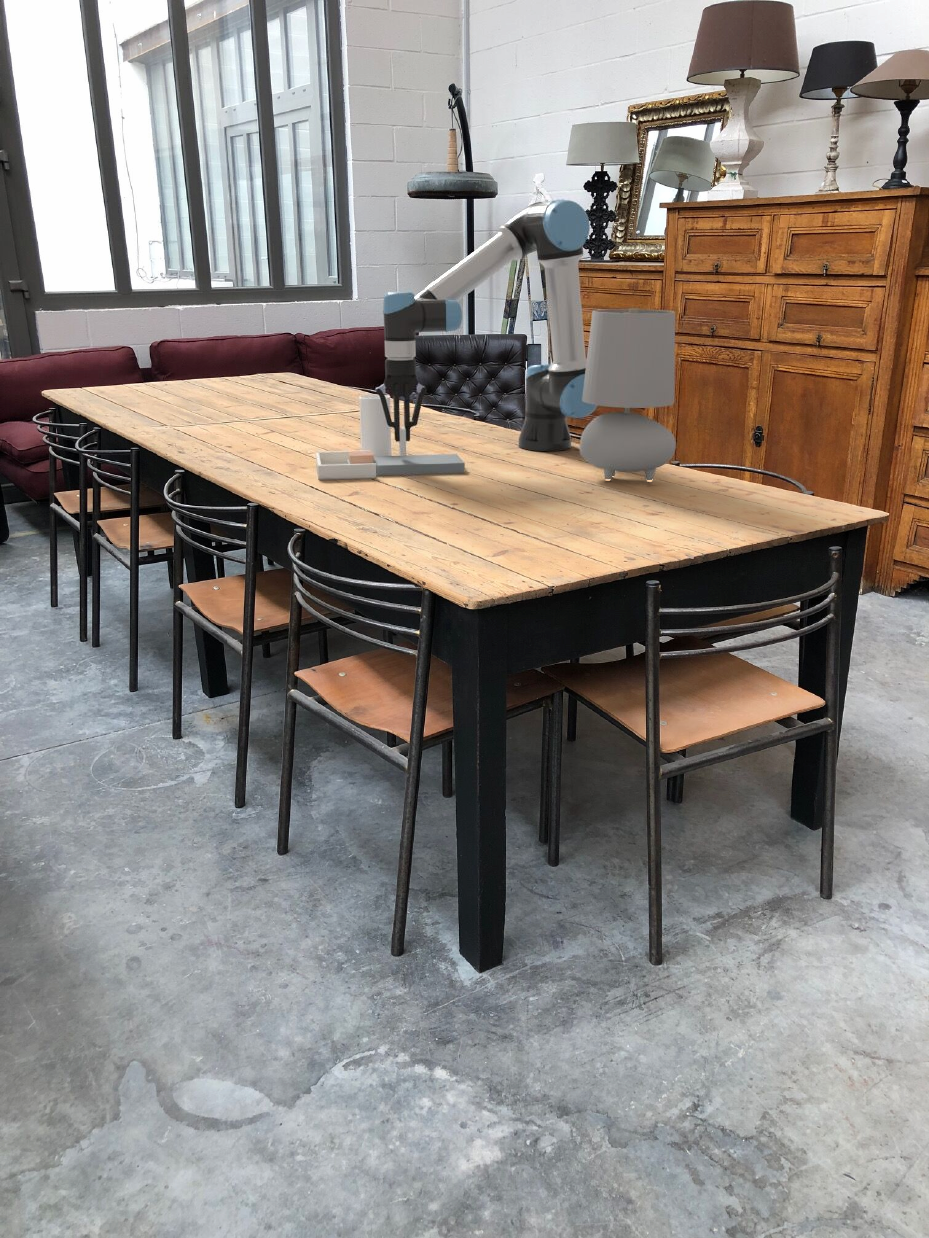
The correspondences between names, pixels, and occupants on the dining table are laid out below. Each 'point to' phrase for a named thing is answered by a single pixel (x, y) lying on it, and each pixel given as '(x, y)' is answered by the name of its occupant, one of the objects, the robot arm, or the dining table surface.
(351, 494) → the dining table surface
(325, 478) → the box
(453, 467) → the board
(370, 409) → the cup
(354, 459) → the terracotta tile
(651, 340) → the table lamp
